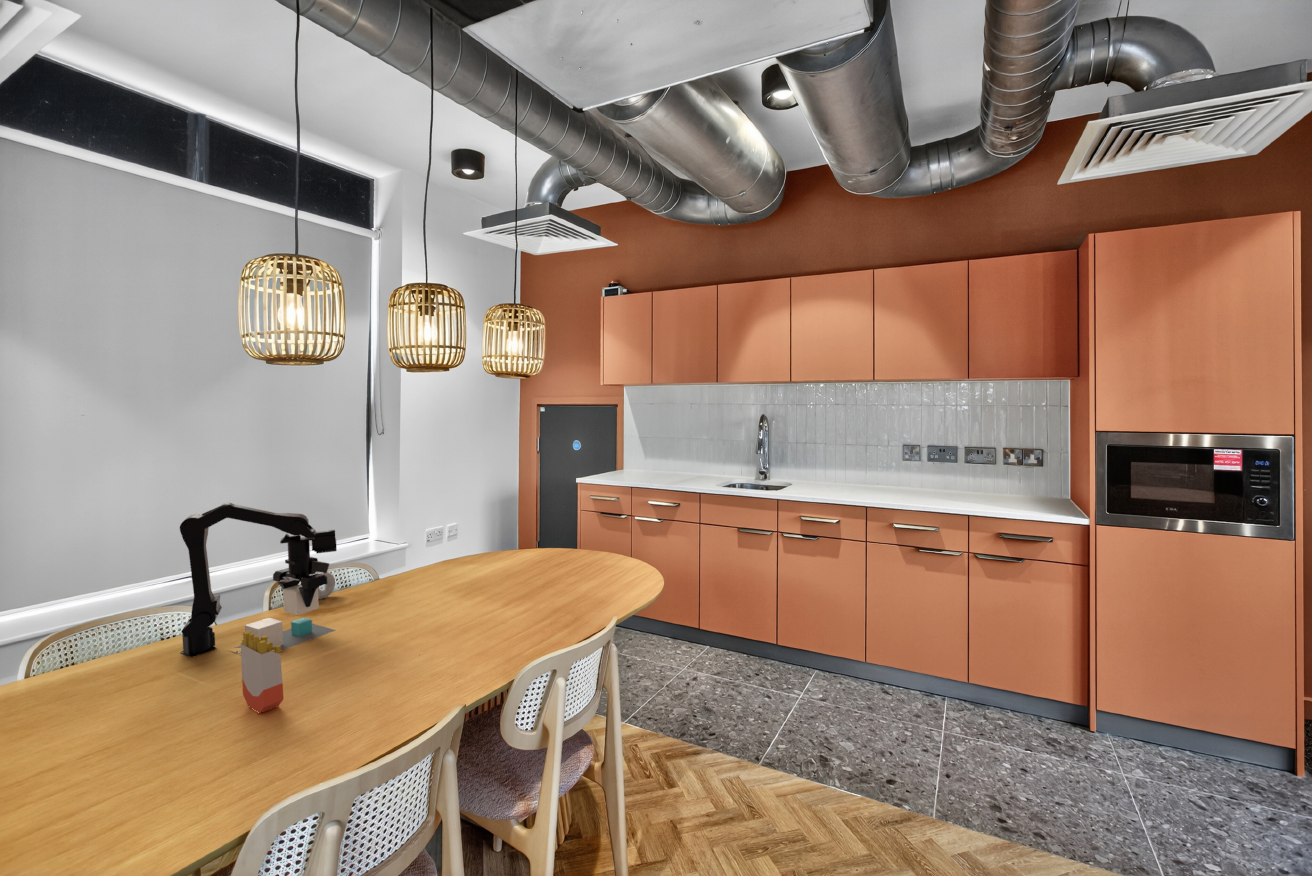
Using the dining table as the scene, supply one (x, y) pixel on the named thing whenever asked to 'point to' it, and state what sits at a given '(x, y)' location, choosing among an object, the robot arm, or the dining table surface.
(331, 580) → the donut
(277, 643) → the white cube
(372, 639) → the dining table surface
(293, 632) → the cube
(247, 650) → the french fries container
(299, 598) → the closed white box
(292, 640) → the mat
